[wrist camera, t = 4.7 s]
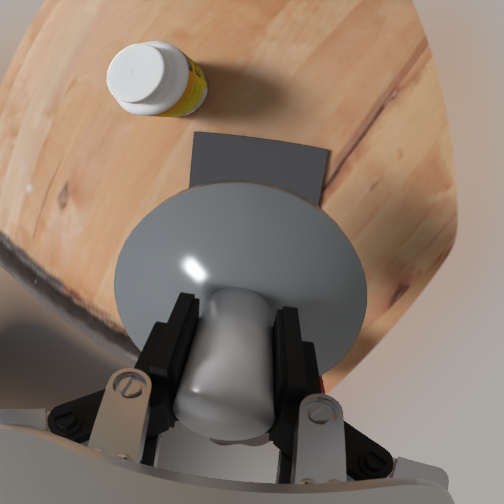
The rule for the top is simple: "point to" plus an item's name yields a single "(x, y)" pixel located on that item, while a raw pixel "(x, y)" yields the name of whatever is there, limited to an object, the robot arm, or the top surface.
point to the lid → (240, 293)
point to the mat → (258, 162)
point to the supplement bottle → (156, 80)
